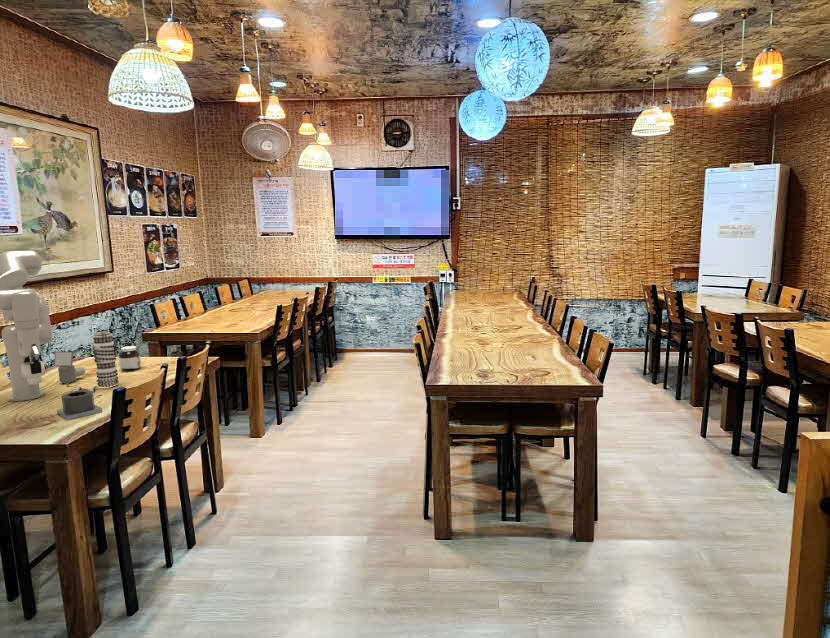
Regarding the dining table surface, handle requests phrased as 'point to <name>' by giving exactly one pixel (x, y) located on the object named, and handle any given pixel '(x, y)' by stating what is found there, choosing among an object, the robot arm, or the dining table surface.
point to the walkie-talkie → (82, 389)
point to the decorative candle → (105, 359)
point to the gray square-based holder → (78, 404)
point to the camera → (67, 367)
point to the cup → (32, 377)
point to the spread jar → (129, 359)
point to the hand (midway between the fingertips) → (33, 371)
